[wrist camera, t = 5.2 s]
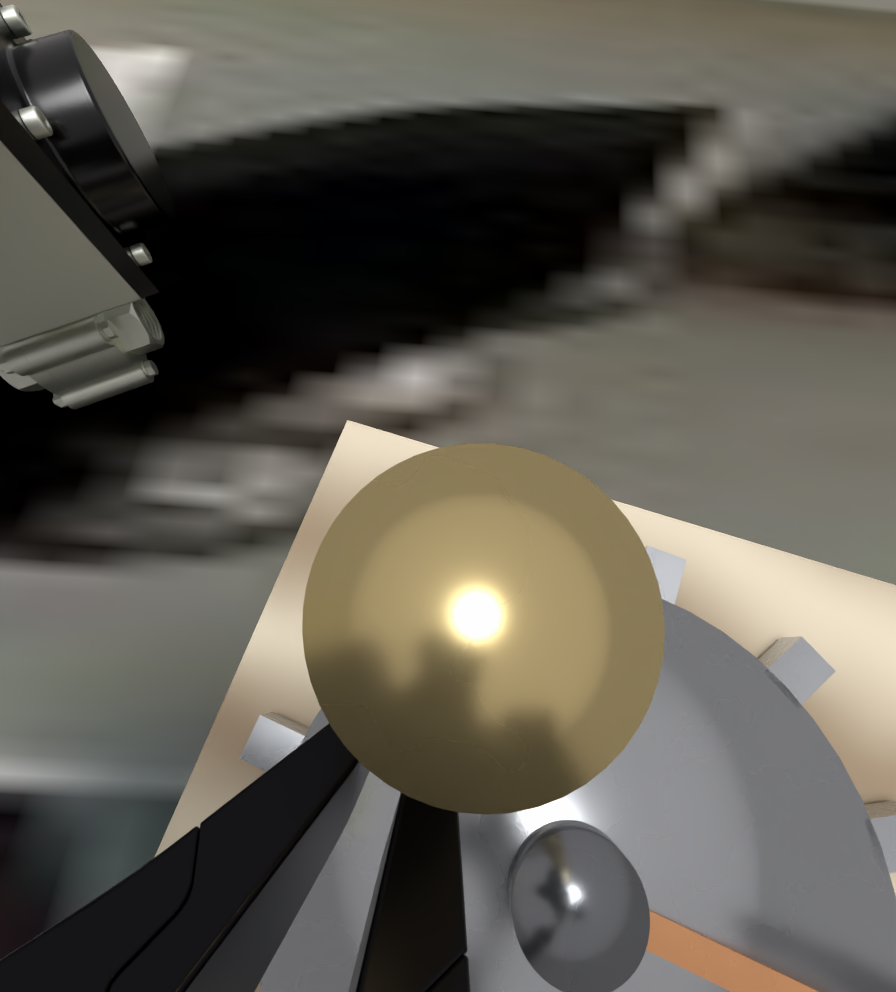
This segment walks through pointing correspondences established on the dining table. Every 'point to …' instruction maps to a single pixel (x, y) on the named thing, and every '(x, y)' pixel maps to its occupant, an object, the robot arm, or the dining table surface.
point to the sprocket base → (703, 591)
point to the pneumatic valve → (73, 223)
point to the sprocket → (575, 750)
